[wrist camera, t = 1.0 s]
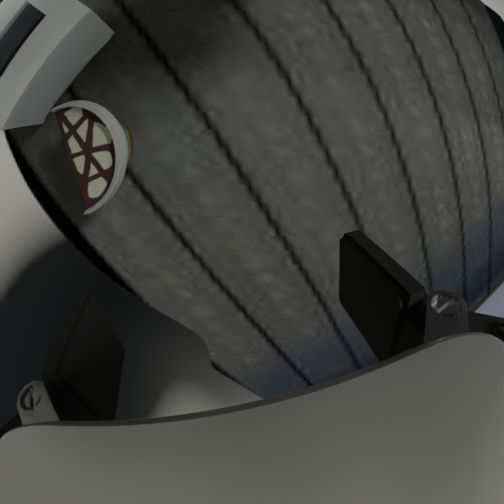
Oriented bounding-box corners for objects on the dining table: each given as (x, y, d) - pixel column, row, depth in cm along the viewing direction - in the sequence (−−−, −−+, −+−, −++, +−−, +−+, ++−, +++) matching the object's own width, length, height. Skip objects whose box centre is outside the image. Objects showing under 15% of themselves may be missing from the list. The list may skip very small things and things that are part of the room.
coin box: (60, -7, 17) (29, -30, 8) (115, 33, 23) (90, 9, 15) (-5, 77, 20) (-46, 76, 11) (42, 123, 26) (1, 130, 18)
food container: (153, 177, 33) (139, 199, 25) (111, 192, 33) (85, 219, 24) (128, 88, 27) (103, 78, 19) (85, 106, 27) (49, 106, 18)
